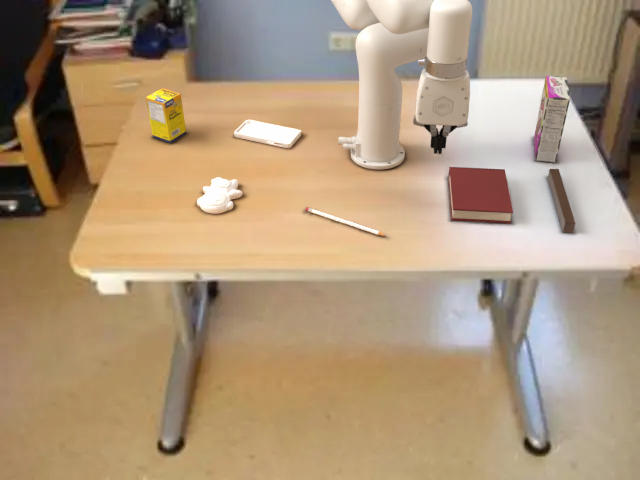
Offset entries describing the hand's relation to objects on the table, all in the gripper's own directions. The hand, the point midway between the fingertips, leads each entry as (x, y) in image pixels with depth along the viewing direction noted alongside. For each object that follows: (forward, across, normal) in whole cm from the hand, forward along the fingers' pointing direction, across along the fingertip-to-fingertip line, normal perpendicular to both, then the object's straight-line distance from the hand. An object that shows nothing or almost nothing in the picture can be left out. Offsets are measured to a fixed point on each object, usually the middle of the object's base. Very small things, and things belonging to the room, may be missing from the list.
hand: (437, 150), depth 144 cm
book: (+12, +10, 0) cm, 15 cm away
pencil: (+12, -18, -11) cm, 24 cm away
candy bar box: (+12, +27, +22) cm, 37 cm away
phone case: (+11, -39, +24) cm, 47 cm away
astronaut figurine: (+12, -45, -4) cm, 47 cm away
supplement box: (+11, -63, +22) cm, 68 cm away
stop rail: (+12, +27, 0) cm, 29 cm away
